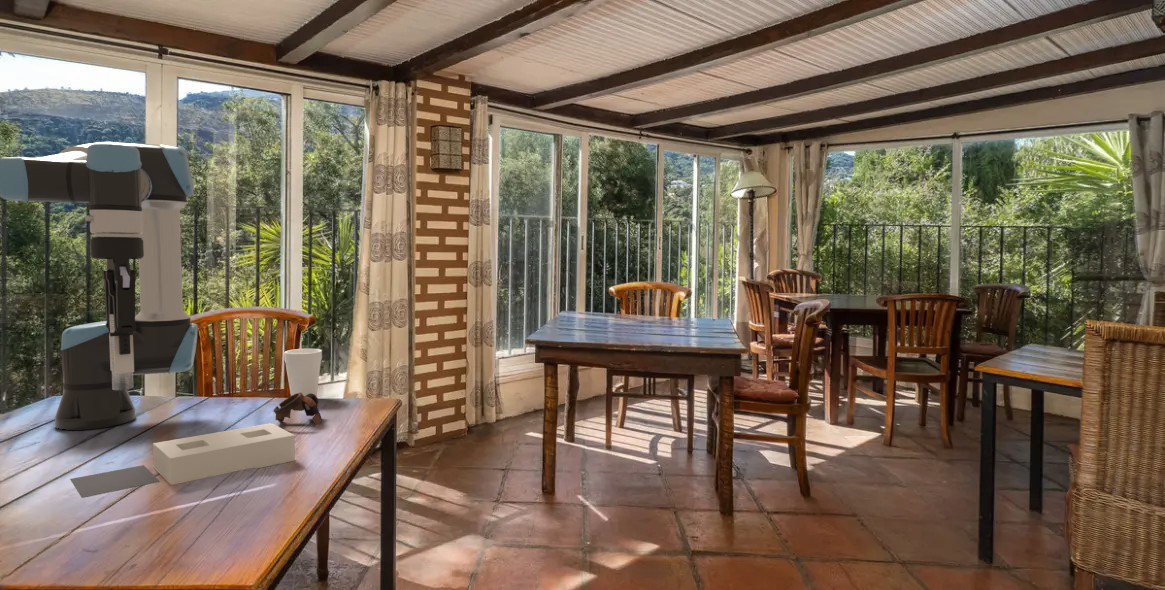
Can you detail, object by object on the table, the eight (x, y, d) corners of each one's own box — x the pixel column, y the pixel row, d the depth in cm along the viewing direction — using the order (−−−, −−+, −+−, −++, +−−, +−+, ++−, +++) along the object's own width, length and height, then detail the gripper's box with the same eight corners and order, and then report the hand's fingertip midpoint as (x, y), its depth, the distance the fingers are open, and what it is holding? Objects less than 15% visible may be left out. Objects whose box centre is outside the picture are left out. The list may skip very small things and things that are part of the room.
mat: (70, 481, 117) (70, 478, 117) (143, 467, 125) (143, 464, 125) (82, 500, 109) (81, 497, 109) (160, 483, 117) (160, 481, 117)
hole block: (153, 469, 124) (153, 443, 123) (271, 446, 138) (271, 423, 138) (171, 486, 115) (170, 458, 115) (294, 460, 130) (294, 435, 130)
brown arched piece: (315, 431, 152) (295, 402, 150) (282, 447, 154) (261, 418, 152) (336, 406, 164) (317, 378, 161) (305, 420, 165) (285, 393, 163)
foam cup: (299, 404, 175) (298, 355, 174) (277, 399, 180) (276, 351, 179) (330, 397, 183) (329, 350, 182) (308, 393, 188) (307, 347, 187)
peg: (111, 388, 117) (108, 313, 116) (131, 385, 119) (128, 312, 118) (114, 390, 115) (111, 315, 114) (134, 388, 117) (132, 314, 116)
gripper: (82, 235, 118) (88, 367, 120) (98, 235, 107) (104, 381, 108) (133, 236, 123) (137, 362, 125) (153, 236, 112) (158, 375, 113)
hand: (122, 370), depth 117 cm, fingers closed on peg, 3 cm apart
